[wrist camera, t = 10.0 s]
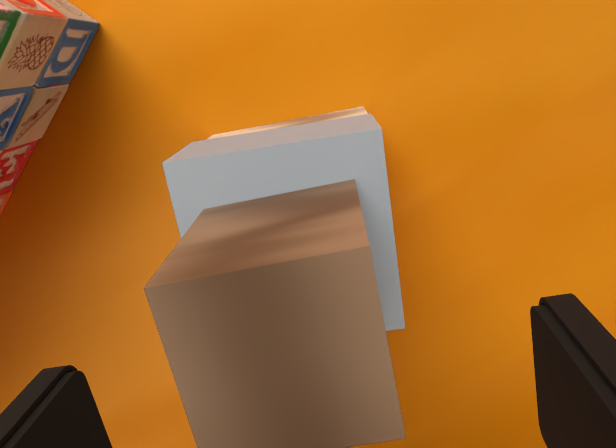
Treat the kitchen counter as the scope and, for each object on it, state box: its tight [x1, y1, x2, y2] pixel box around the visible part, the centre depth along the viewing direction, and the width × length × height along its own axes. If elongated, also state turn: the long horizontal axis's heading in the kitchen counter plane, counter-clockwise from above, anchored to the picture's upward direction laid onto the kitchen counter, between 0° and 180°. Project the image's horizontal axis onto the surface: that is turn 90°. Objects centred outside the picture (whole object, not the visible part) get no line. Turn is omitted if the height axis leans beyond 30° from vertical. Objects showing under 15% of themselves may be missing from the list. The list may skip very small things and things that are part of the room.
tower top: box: [162, 114, 405, 331], centre depth 20 cm, size 7×7×4 cm
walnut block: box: [144, 179, 406, 448], centre depth 15 cm, size 5×5×6 cm
